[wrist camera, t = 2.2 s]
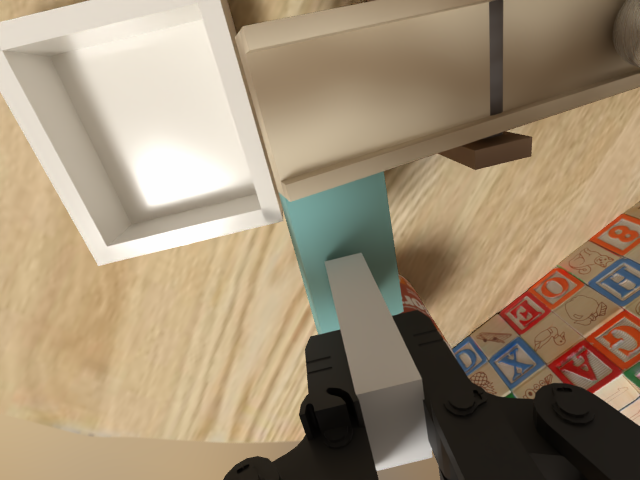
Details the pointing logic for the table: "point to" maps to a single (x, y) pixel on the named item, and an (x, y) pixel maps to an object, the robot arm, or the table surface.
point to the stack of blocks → (570, 326)
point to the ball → (628, 32)
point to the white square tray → (141, 121)
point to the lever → (407, 105)
